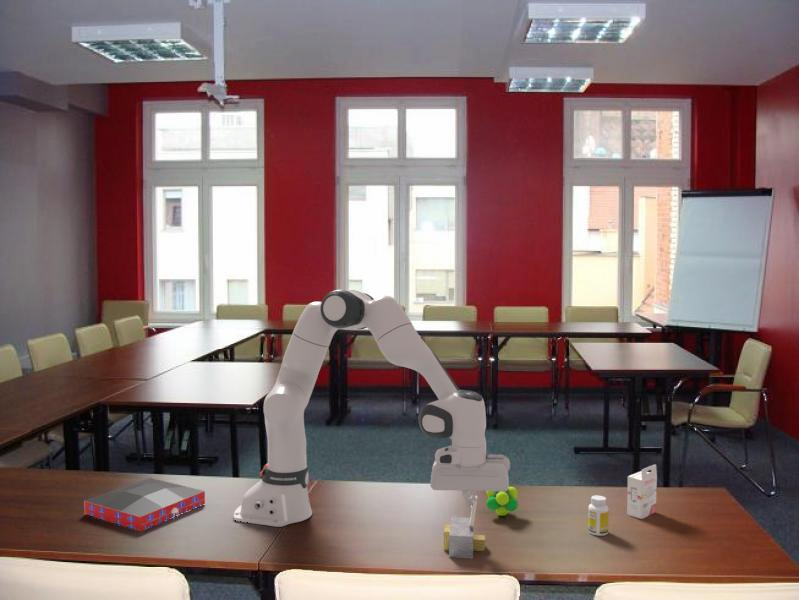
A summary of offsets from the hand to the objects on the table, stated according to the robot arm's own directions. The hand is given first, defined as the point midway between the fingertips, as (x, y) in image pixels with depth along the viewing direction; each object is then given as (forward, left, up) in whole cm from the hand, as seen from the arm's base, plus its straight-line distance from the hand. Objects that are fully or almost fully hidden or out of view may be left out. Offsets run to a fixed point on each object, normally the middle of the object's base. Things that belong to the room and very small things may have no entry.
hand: (469, 506), depth 184 cm
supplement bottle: (+35, +15, -11) cm, 40 cm away
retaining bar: (0, 0, -5) cm, 5 cm away
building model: (-95, +14, -12) cm, 97 cm away
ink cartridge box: (+50, +31, -11) cm, 60 cm away
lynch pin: (-1, 0, -11) cm, 11 cm away
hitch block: (-2, 0, -11) cm, 11 cm away
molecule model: (+9, +24, -11) cm, 28 cm away
